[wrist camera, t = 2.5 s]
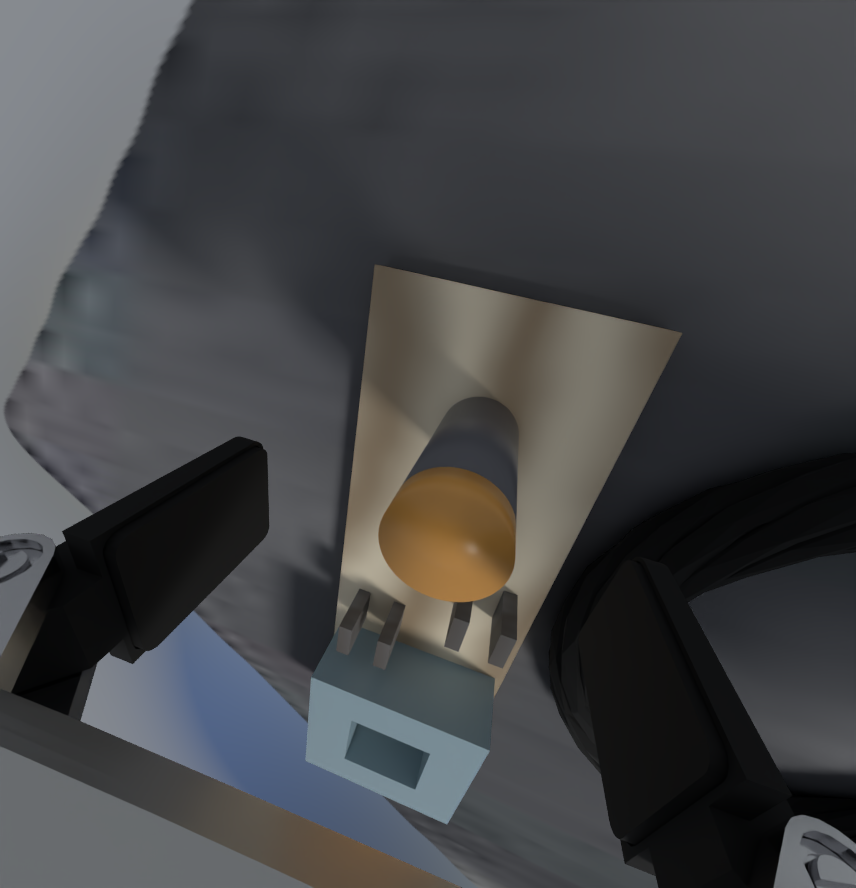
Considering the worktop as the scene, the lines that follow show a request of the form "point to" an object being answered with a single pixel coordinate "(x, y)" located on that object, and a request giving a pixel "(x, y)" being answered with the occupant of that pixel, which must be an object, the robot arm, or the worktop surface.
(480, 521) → the connector plug
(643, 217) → the worktop surface
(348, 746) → the end holder
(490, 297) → the board
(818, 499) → the cable lock
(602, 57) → the worktop surface
